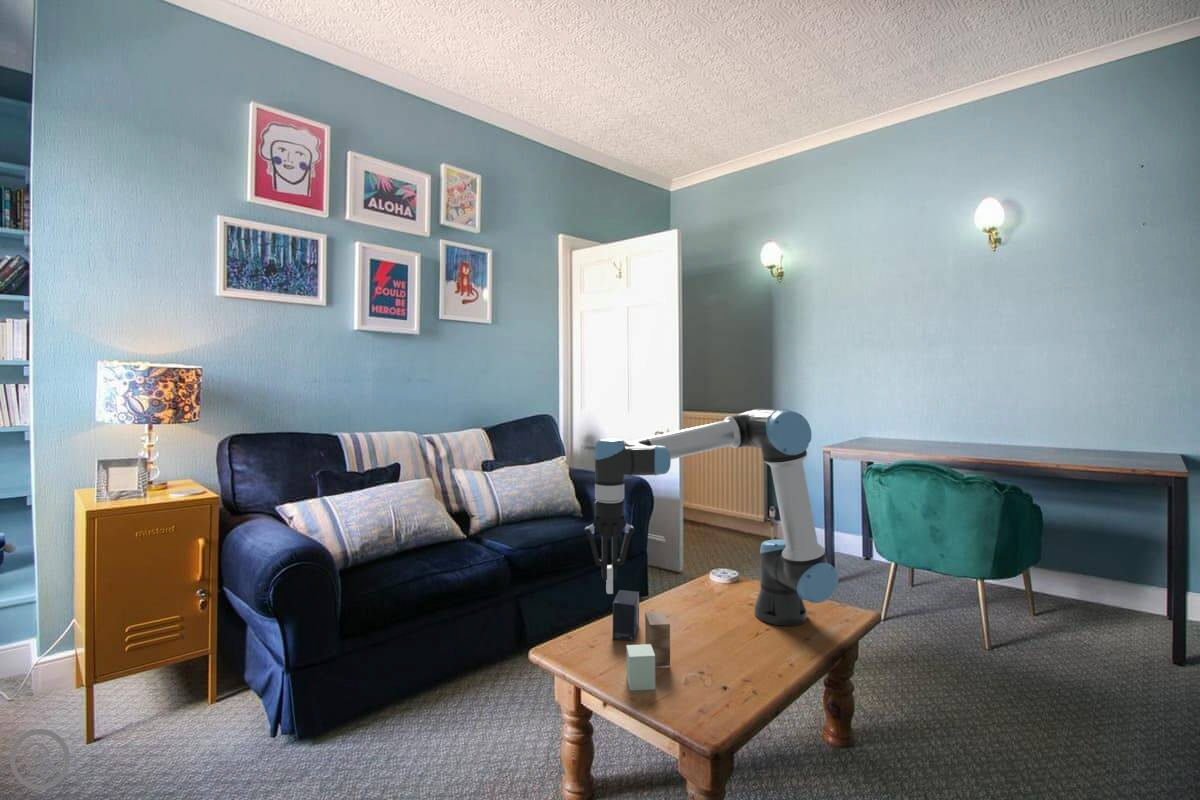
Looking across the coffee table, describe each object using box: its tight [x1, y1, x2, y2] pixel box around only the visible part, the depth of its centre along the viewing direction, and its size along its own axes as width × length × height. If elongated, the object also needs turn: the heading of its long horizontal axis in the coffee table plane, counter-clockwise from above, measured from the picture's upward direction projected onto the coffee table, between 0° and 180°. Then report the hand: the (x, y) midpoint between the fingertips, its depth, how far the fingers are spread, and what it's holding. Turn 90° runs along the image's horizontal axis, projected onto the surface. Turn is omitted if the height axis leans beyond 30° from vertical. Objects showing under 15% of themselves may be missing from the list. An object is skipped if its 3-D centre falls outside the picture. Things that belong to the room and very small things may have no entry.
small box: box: [612, 589, 640, 642], centre depth 167 cm, size 11×6×10 cm, turn 168°
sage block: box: [625, 643, 656, 691], centre depth 139 cm, size 6×6×8 cm
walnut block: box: [644, 611, 671, 669], centre depth 150 cm, size 5×8×11 cm, turn 4°
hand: (609, 591), depth 149 cm, fingers closed
